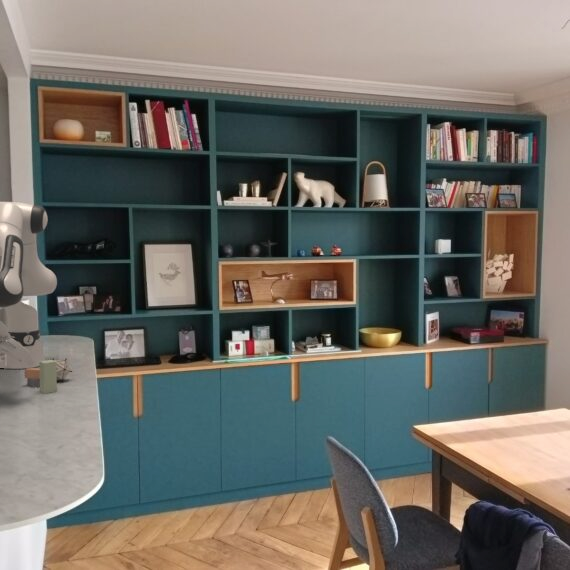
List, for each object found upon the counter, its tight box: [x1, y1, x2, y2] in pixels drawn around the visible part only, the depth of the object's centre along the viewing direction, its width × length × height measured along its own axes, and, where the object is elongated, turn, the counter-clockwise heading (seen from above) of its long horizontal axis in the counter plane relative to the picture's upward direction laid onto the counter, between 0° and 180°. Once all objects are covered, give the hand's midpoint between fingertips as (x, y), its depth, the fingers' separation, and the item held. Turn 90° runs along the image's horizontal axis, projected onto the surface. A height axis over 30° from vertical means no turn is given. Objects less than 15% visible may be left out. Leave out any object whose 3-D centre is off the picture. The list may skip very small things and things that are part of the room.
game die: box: [51, 358, 73, 383], centre depth 205 cm, size 9×8×10 cm
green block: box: [38, 359, 58, 394], centre depth 190 cm, size 4×4×10 cm
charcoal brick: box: [26, 378, 40, 389], centre depth 198 cm, size 6×3×3 cm, turn 45°
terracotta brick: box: [24, 367, 40, 379], centre depth 198 cm, size 6×3×3 cm, turn 79°
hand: (27, 362), depth 186 cm, fingers open, 8 cm apart
